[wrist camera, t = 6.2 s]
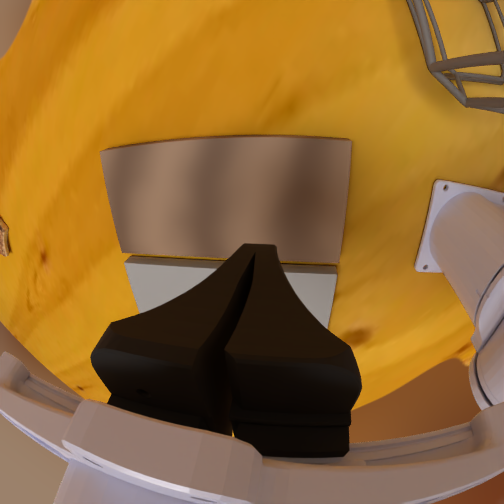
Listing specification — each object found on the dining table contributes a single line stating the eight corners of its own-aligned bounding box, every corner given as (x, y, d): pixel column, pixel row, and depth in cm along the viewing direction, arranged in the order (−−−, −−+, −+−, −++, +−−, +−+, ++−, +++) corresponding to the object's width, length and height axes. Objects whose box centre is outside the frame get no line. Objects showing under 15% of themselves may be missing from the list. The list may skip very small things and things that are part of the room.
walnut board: (348, 138, 17) (351, 141, 16) (336, 254, 21) (338, 263, 20) (108, 148, 19) (99, 151, 18) (128, 245, 24) (122, 252, 23)
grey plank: (335, 266, 22) (337, 274, 21) (318, 355, 27) (319, 364, 26) (130, 256, 24) (124, 262, 23) (156, 339, 29) (152, 347, 28)
